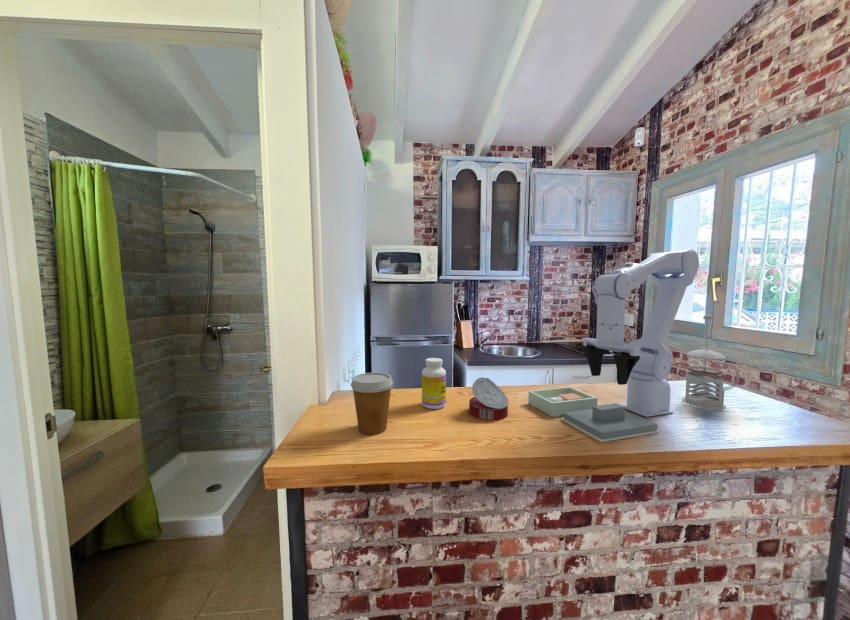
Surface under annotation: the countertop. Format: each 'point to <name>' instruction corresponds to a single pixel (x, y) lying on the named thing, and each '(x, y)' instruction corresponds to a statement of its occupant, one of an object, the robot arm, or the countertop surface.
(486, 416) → the canned food
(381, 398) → the disposable coffee cup
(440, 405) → the supplement bottle
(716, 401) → the french press
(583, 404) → the storage box
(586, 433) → the mat
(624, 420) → the lid
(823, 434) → the countertop surface
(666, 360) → the robot arm
